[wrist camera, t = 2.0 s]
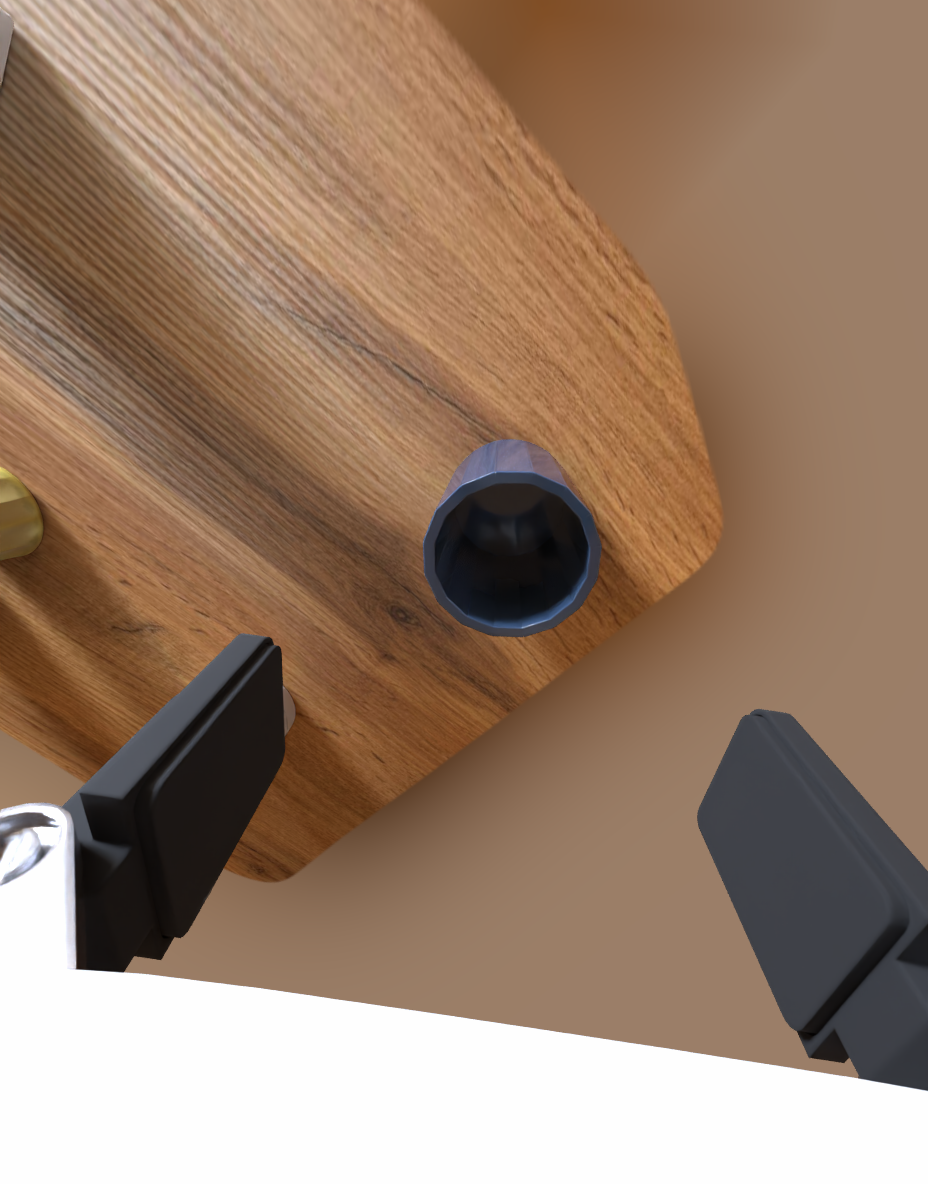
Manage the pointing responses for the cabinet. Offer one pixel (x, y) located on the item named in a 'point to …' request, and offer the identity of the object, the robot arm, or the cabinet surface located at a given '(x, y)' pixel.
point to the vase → (18, 518)
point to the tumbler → (511, 542)
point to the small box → (4, 40)
